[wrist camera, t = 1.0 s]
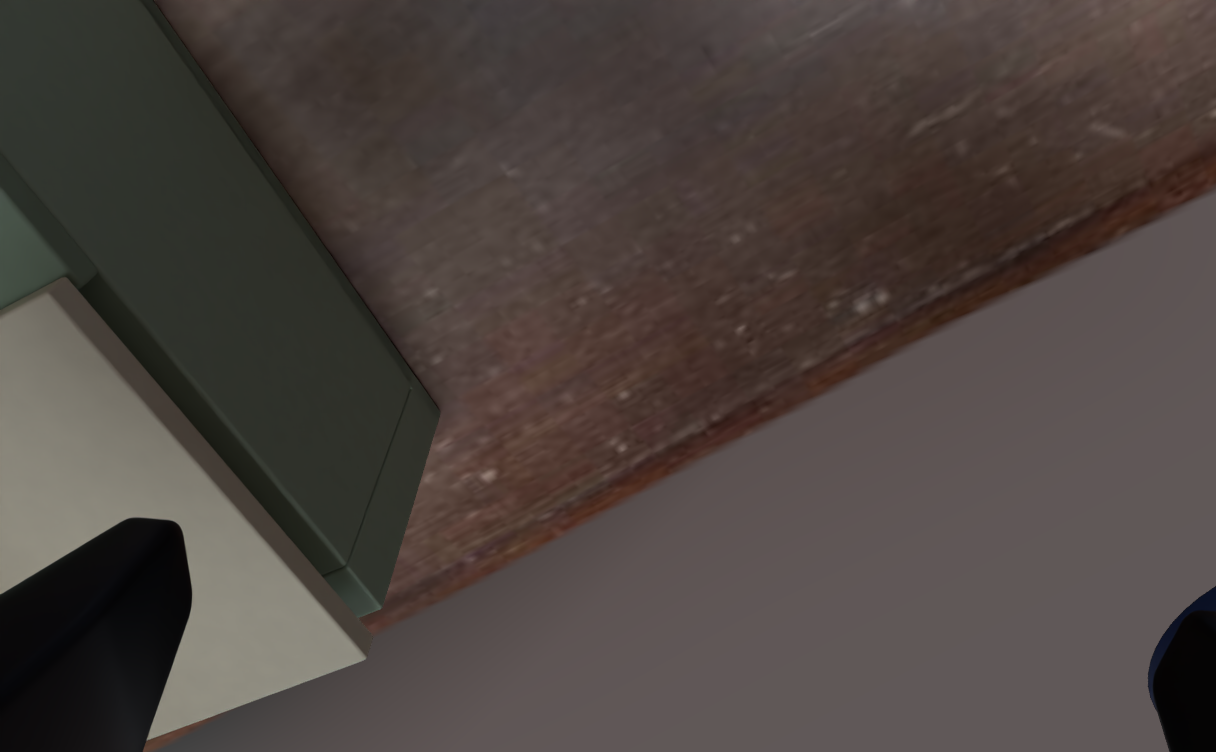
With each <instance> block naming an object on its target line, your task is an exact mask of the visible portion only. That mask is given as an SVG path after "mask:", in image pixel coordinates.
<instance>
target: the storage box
mask: <svg viewBox="0 0 1216 752" xmlns="http://www.w3.org/2000/svg"><path fill="white" fill-rule="evenodd" d="M63 277H66V278H68V279H69V281H70V282H71V283H72V284H73V285H74V286H75V288H76V289H77V290H78V291H79V292H80V293H81V295H82V296H83V297H84V298H85V299H86V300H87V302H88V303H89V304H90V305H91V306H92V307H93V309H94V310H95V311H96V312H97V313H98V314H99V316H100V317H101V318H102V319H103V320H104V322H105V323H106V324H107V325H108V326H109V327H110V329H111V330H112V331H113V332H114V333H115V334H116V336H117V337H118V338H119V339H120V340H121V341H122V343H123V344H124V345H125V346H126V347H127V348H128V350H129V351H130V352H131V353H132V354H133V355H134V357H135V358H136V359H137V360H138V361H139V362H140V364H141V365H142V366H143V367H144V368H145V370H146V371H147V372H148V373H149V374H150V375H151V377H152V378H153V379H154V380H155V381H156V382H157V384H158V385H159V386H160V387H161V388H162V389H163V391H164V392H165V393H166V394H167V395H168V396H169V398H170V399H171V400H172V401H173V402H174V403H175V405H176V406H177V407H178V408H179V409H180V410H181V412H182V413H183V414H184V415H185V416H186V418H187V419H188V420H189V421H190V422H191V423H192V425H193V426H194V427H195V428H196V429H197V430H198V432H199V433H200V434H201V435H202V436H203V437H204V439H205V440H206V441H207V442H208V443H209V444H210V446H211V447H212V448H213V449H214V450H215V451H216V453H217V454H218V455H219V456H220V457H221V458H222V460H223V461H224V462H225V463H226V464H227V466H228V467H229V468H230V469H231V470H232V471H233V473H234V474H235V475H236V476H237V477H238V478H239V480H240V481H241V482H242V483H243V484H244V485H245V487H246V488H247V489H248V490H249V491H250V492H251V494H252V495H253V496H254V497H255V498H256V499H257V501H258V502H259V503H260V504H261V505H262V507H263V508H264V509H265V510H266V511H267V512H268V514H269V515H270V516H271V517H272V518H273V519H274V521H275V522H276V523H277V524H278V525H279V526H280V528H281V529H282V530H283V531H284V532H285V533H286V535H287V536H288V537H289V538H290V539H291V540H292V542H293V543H294V544H295V545H296V546H297V547H298V549H299V550H300V551H301V552H302V553H303V555H304V556H305V557H306V558H307V559H308V560H309V562H310V563H311V564H312V565H313V566H314V567H315V569H316V570H317V571H318V572H319V573H320V574H321V576H322V577H323V578H324V579H325V580H326V581H327V583H328V584H329V585H330V586H331V587H332V588H333V590H334V591H335V592H336V593H337V594H338V595H339V597H340V598H341V599H342V600H343V601H344V603H345V604H346V605H347V606H348V607H349V608H350V610H351V611H352V612H353V613H354V614H355V615H356V617H357V618H359V617H361V616H364V615H366V614H369V613H372V612H374V611H377V610H379V609H381V608H382V607H383V604H384V600H385V597H386V594H387V590H388V587H389V584H390V580H391V577H392V574H393V570H394V567H395V564H396V560H397V557H398V554H399V550H400V547H401V544H402V540H403V537H404V534H405V530H406V527H407V524H408V520H409V517H410V514H411V510H412V507H413V504H414V500H415V497H416V494H417V490H418V487H419V484H420V480H421V477H422V474H423V470H424V467H425V464H426V460H427V457H428V454H429V450H430V447H431V444H432V440H433V437H434V434H435V430H436V427H437V424H438V420H439V417H440V411H439V410H438V408H437V407H436V405H435V404H434V402H433V401H432V399H431V398H430V397H429V395H428V394H427V392H426V391H425V389H424V388H423V387H422V385H421V384H420V382H419V381H418V379H417V378H416V377H415V376H414V374H413V373H412V371H411V370H410V369H409V367H408V366H407V364H406V363H405V361H404V360H403V358H402V357H401V356H400V354H399V353H398V351H397V350H396V348H395V347H394V346H393V344H392V343H391V341H390V340H389V338H388V337H387V336H386V334H385V333H384V331H383V330H382V328H381V327H380V326H379V324H378V323H377V321H376V320H375V318H374V317H373V315H372V314H371V313H370V311H369V310H368V308H367V307H366V305H365V304H364V303H363V301H362V300H361V298H360V297H359V295H358V294H357V293H356V291H355V290H354V288H353V287H352V285H351V284H350V282H349V281H348V280H347V278H346V277H345V275H344V274H343V272H342V271H341V270H340V268H339V267H338V265H337V264H336V262H335V261H334V260H333V258H332V257H331V255H330V254H329V252H328V251H327V250H326V248H325V247H324V245H323V244H322V242H321V241H320V239H319V238H318V237H317V235H316V234H315V232H314V231H313V229H312V228H311V227H310V225H309V224H308V222H307V221H306V219H305V218H304V217H303V215H302V214H301V212H300V211H299V209H298V208H297V206H296V205H295V204H294V202H293V201H292V199H291V198H290V196H289V195H288V194H287V192H286V191H285V189H284V188H283V186H282V185H281V184H280V182H279V181H278V179H277V178H276V176H275V175H274V173H273V172H272V171H271V169H270V168H269V166H268V165H267V163H266V162H265V161H264V159H263V158H262V156H261V155H260V153H259V152H258V151H257V149H256V148H255V146H254V145H253V143H252V142H251V141H250V139H249V138H248V136H247V135H246V133H245V132H244V130H243V129H242V128H241V126H240V125H239V123H238V122H237V120H236V119H235V118H234V116H233V115H232V113H231V112H230V110H229V109H228V108H227V106H226V105H225V103H224V102H223V100H222V99H221V97H220V96H219V95H218V93H217V92H216V90H215V89H214V87H213V86H212V85H211V83H210V82H209V80H208V79H207V77H206V76H205V75H204V73H203V72H202V70H201V69H200V67H199V66H198V65H197V63H196V62H195V60H194V59H193V57H192V56H191V54H190V53H189V52H188V50H187V49H186V47H185V46H184V44H183V43H182V42H181V40H180V39H179V37H178V36H177V34H176V33H175V32H174V30H173V29H172V27H171V26H170V24H169V23H168V21H167V20H166V19H165V17H164V16H163V14H162V13H161V11H160V10H159V9H158V7H157V6H156V4H155V3H154V1H153V0H0V310H1V309H3V308H5V307H7V306H9V305H11V304H13V303H15V302H16V301H18V300H20V299H22V298H24V297H26V296H28V295H30V294H31V293H33V292H35V291H37V290H39V289H41V288H43V287H45V286H47V285H48V284H50V283H52V282H54V281H56V280H58V279H60V278H63Z"/></svg>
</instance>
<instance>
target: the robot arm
mask: <svg viewBox="0 0 1216 752" xmlns="http://www.w3.org/2000/svg"><path fill="white" fill-rule="evenodd" d="M191 607H192V585H191V578H190V572H189V566H188V560H187V553H186V547H185V541H184V535H183V532H182V529H181V527H180V526H179V524H177V523H176V522H174V521H172V520H164V519H153V518H141V517H133V518H128V519H126V520H123V521H121V522H120V523H118V524H116V525H115V526H113V527H111V528H110V529H108V530H106V531H105V532H103V533H101V534H100V535H98V536H96V537H95V538H93V539H91V540H90V541H88V542H86V543H85V544H83V545H81V546H80V547H78V548H76V549H75V550H73V551H71V552H70V553H68V554H67V555H65V556H63V557H62V558H60V559H58V560H57V561H55V562H53V563H52V564H50V565H48V566H47V567H45V568H43V569H42V570H40V571H38V572H37V573H35V574H33V575H32V576H30V577H28V578H27V579H25V580H23V581H22V582H20V583H18V584H17V585H15V586H13V587H12V588H10V589H9V590H7V591H5V592H4V593H2V594H0V752H143V749H144V746H145V743H146V740H147V737H148V734H149V731H150V729H151V726H152V723H153V720H154V717H155V714H156V711H157V709H158V706H159V703H160V700H161V697H162V694H163V691H164V688H165V686H166V683H167V680H168V677H169V674H170V671H171V668H172V665H173V663H174V660H175V657H176V654H177V651H178V648H179V645H180V642H181V640H182V637H183V634H184V631H185V628H186V625H187V622H188V619H189V616H190V612H191ZM1152 690H1153V698H1154V703H1155V706H1156V709H1157V712H1158V716H1159V719H1160V722H1161V725H1162V729H1163V732H1164V735H1165V739H1166V742H1167V745H1168V748H1169V751H1170V752H1216V611H1205V610H1198V611H1193V612H1191V613H1190V614H1189V615H1187V616H1186V617H1185V618H1184V619H1183V621H1182V622H1181V624H1180V626H1179V628H1178V629H1177V631H1176V633H1175V635H1174V637H1173V639H1172V641H1171V642H1170V644H1169V646H1168V648H1167V650H1166V652H1165V654H1164V655H1163V657H1162V659H1161V661H1160V663H1159V665H1158V667H1157V668H1156V671H1155V673H1154V678H1153V686H1152Z"/></svg>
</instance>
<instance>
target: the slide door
mask: <svg viewBox="0 0 1216 752" xmlns="http://www.w3.org/2000/svg"><path fill="white" fill-rule="evenodd" d="M133 517H141V518H153V519H164V520H172V521H174V522H176V523H177V524H179V526H180V527H181V529H182V532H183V535H184V541H185V547H186V553H187V560H188V566H189V572H190V578H191V585H192V607H191V612H190V616H189V619H188V622H187V625H186V628H185V631H184V634H183V637H182V640H181V642H180V645H179V648H178V651H177V654H176V657H175V660H174V663H173V665H172V668H171V671H170V674H169V677H168V680H167V683H166V686H165V688H164V691H163V694H162V697H161V700H160V703H159V706H158V709H157V711H156V714H155V717H154V720H153V723H152V726H151V729H150V731H149V734H148V737H147V740H149V739H152V738H155V737H158V736H160V735H163V734H166V733H168V732H171V731H174V730H176V729H179V728H182V727H185V726H187V725H190V724H193V723H195V722H198V721H201V720H204V719H206V718H209V717H212V716H214V715H217V714H220V713H223V712H225V711H228V710H231V709H233V708H236V707H239V706H241V705H244V704H247V703H250V702H252V701H255V700H258V699H260V698H263V697H266V696H269V695H271V694H274V693H277V692H279V691H282V690H285V689H288V688H290V687H293V686H295V685H298V684H301V683H304V682H306V681H309V680H312V679H315V678H317V677H320V676H323V675H325V674H328V673H331V672H334V671H336V670H339V669H342V668H344V667H347V666H350V665H352V664H355V663H358V662H361V661H363V660H365V659H366V658H367V656H368V653H369V649H370V646H371V643H372V640H373V636H372V634H371V633H370V632H369V631H368V629H367V628H366V627H365V626H364V625H363V624H362V622H361V621H360V620H359V619H358V618H357V617H356V615H355V614H354V613H353V612H352V611H351V610H350V608H349V607H348V606H347V605H346V604H345V603H344V601H343V600H342V599H341V598H340V597H339V595H338V594H337V593H336V592H335V591H334V590H333V588H332V587H331V586H330V585H329V584H328V583H327V581H326V580H325V579H324V578H323V577H322V576H321V574H320V573H319V572H318V571H317V570H316V569H315V567H314V566H313V565H312V564H311V563H310V562H309V560H308V559H307V558H306V557H305V556H304V555H303V553H302V552H301V551H300V550H299V549H298V547H297V546H296V545H295V544H294V543H293V542H292V540H291V539H290V538H289V537H288V536H287V535H286V533H285V532H284V531H283V530H282V529H281V528H280V526H279V525H278V524H277V523H276V522H275V521H274V519H273V518H272V517H271V516H270V515H269V514H268V512H267V511H266V510H265V509H264V508H263V507H262V505H261V504H260V503H259V502H258V501H257V499H256V498H255V497H254V496H253V495H252V494H251V492H250V491H249V490H248V489H247V488H246V487H245V485H244V484H243V483H242V482H241V481H240V480H239V478H238V477H237V476H236V475H235V474H234V473H233V471H232V470H231V469H230V468H229V467H228V466H227V464H226V463H225V462H224V461H223V460H222V458H221V457H220V456H219V455H218V454H217V453H216V451H215V450H214V449H213V448H212V447H211V446H210V444H209V443H208V442H207V441H206V440H205V439H204V437H203V436H202V435H201V434H200V433H199V432H198V430H197V429H196V428H195V427H194V426H193V425H192V423H191V422H190V421H189V420H188V419H187V418H186V416H185V415H184V414H183V413H182V412H181V410H180V409H179V408H178V407H177V406H176V405H175V403H174V402H173V401H172V400H171V399H170V398H169V396H168V395H167V394H166V393H165V392H164V391H163V389H162V388H161V387H160V386H159V385H158V384H157V382H156V381H155V380H154V379H153V378H152V377H151V375H150V374H149V373H148V372H147V371H146V370H145V368H144V367H143V366H142V365H141V364H140V362H139V361H138V360H137V359H136V358H135V357H134V355H133V354H132V353H131V352H130V351H129V350H128V348H127V347H126V346H125V345H124V344H123V343H122V341H121V340H120V339H119V338H118V337H117V336H116V334H115V333H114V332H113V331H112V330H111V329H110V327H109V326H108V325H107V324H106V323H105V322H104V320H103V319H102V318H101V317H100V316H99V314H98V313H97V312H96V311H95V310H94V309H93V307H92V306H91V305H90V304H89V303H88V302H87V300H86V299H85V298H84V297H83V296H82V295H81V293H80V292H79V291H78V290H77V289H76V288H75V286H74V285H73V284H72V283H71V282H70V281H69V279H68V278H66V277H63V278H60V279H58V280H56V281H54V282H52V283H50V284H48V285H47V286H45V287H43V288H41V289H39V290H37V291H35V292H33V293H31V294H30V295H28V296H26V297H24V298H22V299H20V300H18V301H16V302H15V303H13V304H11V305H9V306H7V307H5V308H3V309H1V310H0V594H2V593H4V592H5V591H7V590H9V589H10V588H12V587H13V586H15V585H17V584H18V583H20V582H22V581H23V580H25V579H27V578H28V577H30V576H32V575H33V574H35V573H37V572H38V571H40V570H42V569H43V568H45V567H47V566H48V565H50V564H52V563H53V562H55V561H57V560H58V559H60V558H62V557H63V556H65V555H67V554H68V553H70V552H71V551H73V550H75V549H76V548H78V547H80V546H81V545H83V544H85V543H86V542H88V541H90V540H91V539H93V538H95V537H96V536H98V535H100V534H101V533H103V532H105V531H106V530H108V529H110V528H111V527H113V526H115V525H116V524H118V523H120V522H121V521H123V520H126V519H128V518H133ZM147 740H146V741H147Z"/></svg>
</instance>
